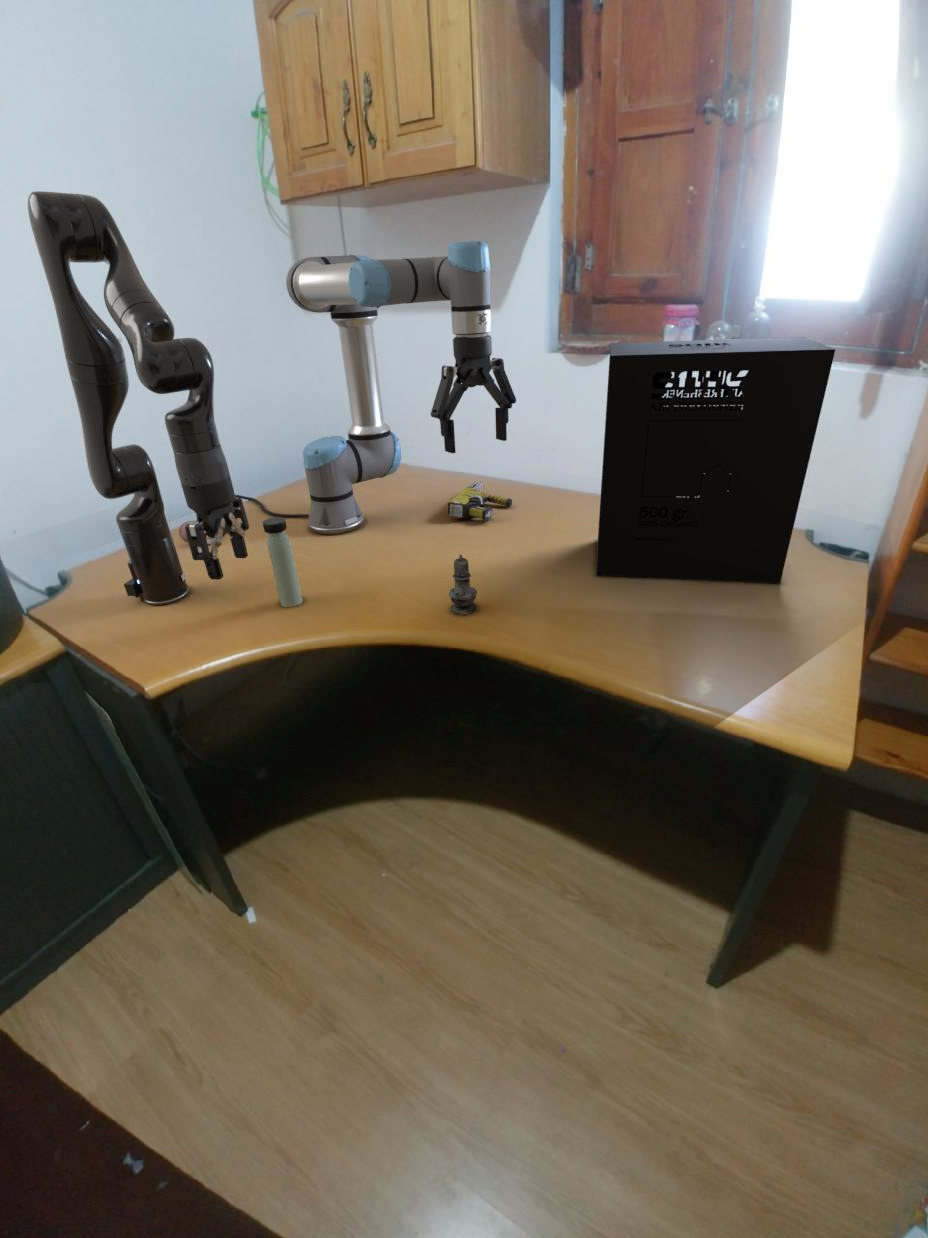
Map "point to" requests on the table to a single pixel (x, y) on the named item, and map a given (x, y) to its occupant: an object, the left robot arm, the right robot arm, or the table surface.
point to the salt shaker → (462, 588)
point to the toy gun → (474, 503)
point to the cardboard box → (707, 456)
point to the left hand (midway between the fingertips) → (229, 567)
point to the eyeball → (183, 531)
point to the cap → (274, 525)
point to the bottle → (284, 569)
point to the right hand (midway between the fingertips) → (476, 445)
